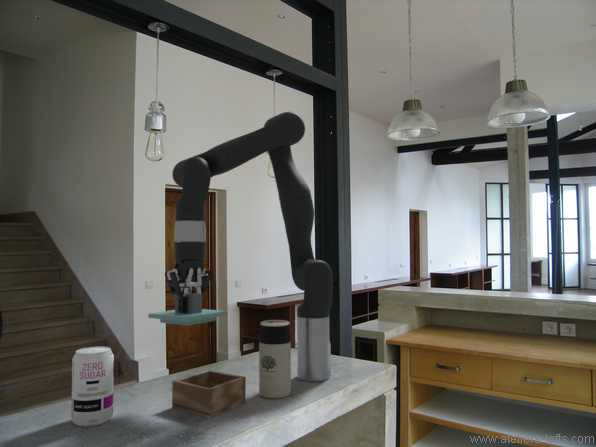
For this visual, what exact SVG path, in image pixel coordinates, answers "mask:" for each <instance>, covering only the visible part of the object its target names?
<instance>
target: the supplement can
mask: <svg viewBox="0 0 596 447" xmlns="http://www.w3.org/2000/svg"><path fill="white" fill-rule="evenodd" d="M114 358H115V355H114V353H113V352H112V348H111V347H109V346H90V347H83V348H79V349H77V350H76V351H75V354H74V355H73V357H72V359H71V361H72V362H71V363H72V365H71V367H72V368H71V407H70V409H71V410H70V411H71V416H70V418H71V419H70V420H71V422H72V423H73V424H74V425H75V426H78V427H93V426H98V425H102V424H104V423H107V422H108V421H109V420H110V419H111V418H112V417H113V415H114V377H115V376H114V375H115V374H114V371H115V370H114V368H115V366H114V364H115V359H114Z"/></svg>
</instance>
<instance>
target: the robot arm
mask: <svg viewBox="0 0 596 447" xmlns="http://www.w3.org/2000/svg"><path fill="white" fill-rule="evenodd" d="M305 124H306V123H305V122H304V120H303V118H302V117H301V116H300V115H299V114H298V113H296V112H294V111H284V112H281V113H278V114H277V115H274V116H272V117H269V119H267V120H266V121H265V123H264V124H263V127H261V128H259V129H257V130H253V131H252V132H249V133H246V134H243V135H241V136H237V137H235V138H232V139H230V140H229V139H228V140H227V141H225V142H222V143H219V144H218V145H216V146H214V147H212V148H210V149H208V150H206V151H204V152H201V153H199V154H196V155H193V156H191V157H188V158H185V159H183V160H181V161H179V162H177V163H176V165H175V166H174V167H173V170H172V179H173V182H174V183H175V184H176V185H177V186H178V187H180V188H181V194H180V197H179V198H178V199H177V200H176V203H175V223H174V224H175V226H174V230H173V231H174V232H173V233H174V234H173V259H174V260H175V263H174V266H173V269H171V270H168V271H165V272H164V277H165V280H166V282H167V286H168V288H169V291H170V294H171V295H173V296H175V295H176V296H177V297H178V310H179V312H180V313H187V310H188V298H187V295H188V293H202V294H203V293H207V290H208V287H209V284H210V281H211V278H212V274H213V269H207V268H205V264H204V260H205V259H206V257H207V256H206V251H207V248H206V246H207V240H206V239H207V229H206V202H207V199H208V195H209V191H210V190H209V189H210V185H211V179H212V178H214V177H215V176H219V175H222V174H225V173H228V172H230V171H232V170H235V169H236V168H238V167H240V166H242V165H244V164H245V163H247V162H250V161H251V160H253V159H255V158H257V157H259V156H261V155H264V153H265V154H266V153H268V156H269V159H270V163H271V166H272V170H273V175H274V179H275V184H276V190H277V193H278V199H279V200H278V201H279V204H280V209H281V210H280V211H281V214H282V219H283V223H284V229H285V234H286V238H287V242H288V249H289V250H288V251H289V262H290V269H291V270H290V271H291V277H292V280H293V283H294V285H295V287H296V288H297V289H298V290H301V291H303V300H302V303H301V304H299V305H298V306H297V308H296V336H297V337H296V348H297V349H296V350H297V351H296V356H297V358H296V359H297V360H296V363H297V364H296V365H297V368H296V369H297V371H296V372H297V378H298V379H299V380H301V381H306V382H322V381H327V380H329V379H330V376H331V375H332V373H331V371H332V368H331V367H332V365H331V364H332V363H331V361H332V359H331V358H332V355H331V354H332V353H331V351H332V350H331V348H332V346H331V345H332V344H331V342H330V311H331V308H332V304H333V288H334V284H333V283H334V278H333V271H332V268H331V267H330V265H329V263H328V262H326V261H324V260H320V259H315V255H314V251H313V245H312V232H313V228H314V220H315V209H314V208H315V207H314V202H313V197H312V193H311V190H310V187H309V186H308V183H307V182H306V180H305V179H304V177H303V176H302V174H301V173H300V172H299V170H298V168H297V167H296V164H295V162H294V159H293V154H292V149H291V148H292V147H291V146H294V145H295V144H297V143H299V142H300V141H301V140H302V139H303V137H304V135H305V132H306V125H305ZM189 290H190V291H189Z"/></svg>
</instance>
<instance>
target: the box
mask: <svg viewBox="0 0 596 447" xmlns="http://www.w3.org/2000/svg"><path fill="white" fill-rule="evenodd" d="M246 379H247V377H246V376H241V375H237V374H232V373H227V372H223V371H217V370H213V369H207V370H204V371H201V372H197V373H195V374H192V375H191V374H190V375H188V376H184V377H182V378H178V379H176V380H172V382H171V383H172V386H171V387H172V388H171V389H172V390H171V391H172V393H171V395H172V396H171V398H172V402H171V405H172V406H171V408H174V409H177V410H180V411H183V412H188V413H191V414H194V415H198V416H201V417H204V418H208V419H210V418H212V417H215V416H218V415H219V414H222V413H225V412H226V411H229V410H231V409H234V408H237V407H238V406H241V405H244V404H246V401H247V399H246V396H247V394H246V390H247V389H246V386H247V384H246Z"/></svg>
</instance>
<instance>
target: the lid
mask: <svg viewBox="0 0 596 447" xmlns="http://www.w3.org/2000/svg"><path fill="white" fill-rule="evenodd" d="M187 298H188V310H187V313H180V312H179V310H178V297H177V296H176V295H174V309H171V310H165V311H158V312H150V313H148V319H155V320H156V319H157V320H160V321H159V322H160V323H161V324H169V325H171V324H172V325H178V326H179V325H180V326H188V327H189V326H192V325H198V324H203V323H210V322H215V321H217V318H219V317H220V318H221V317H224V316H227V315H228V311H227V310H217V309H207V308H206V309H205V308H203V293H191V292H188V295H187Z"/></svg>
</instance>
